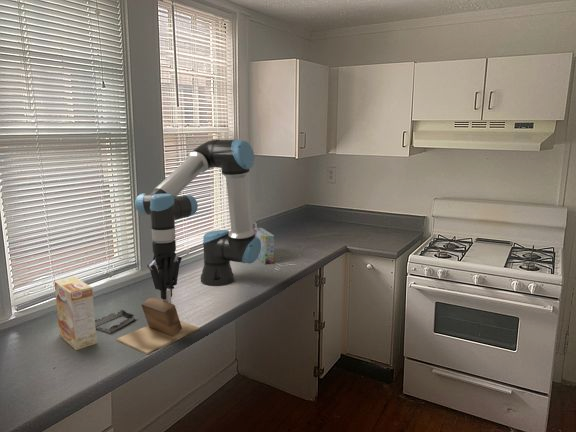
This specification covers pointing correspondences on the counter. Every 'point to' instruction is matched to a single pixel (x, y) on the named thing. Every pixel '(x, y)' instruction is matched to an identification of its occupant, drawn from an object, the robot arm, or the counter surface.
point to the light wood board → (154, 338)
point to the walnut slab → (161, 316)
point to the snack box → (265, 245)
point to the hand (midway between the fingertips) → (167, 307)
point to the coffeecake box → (75, 312)
